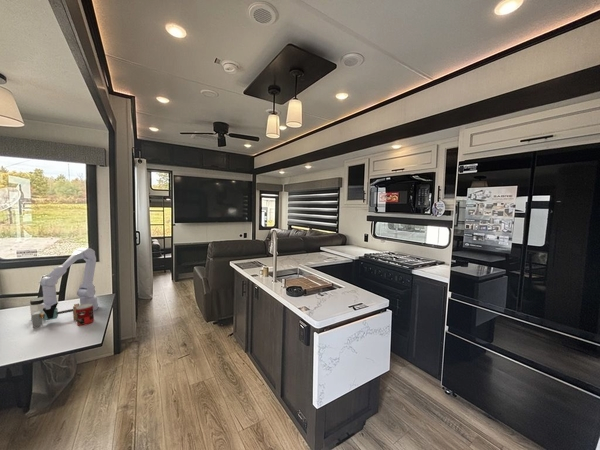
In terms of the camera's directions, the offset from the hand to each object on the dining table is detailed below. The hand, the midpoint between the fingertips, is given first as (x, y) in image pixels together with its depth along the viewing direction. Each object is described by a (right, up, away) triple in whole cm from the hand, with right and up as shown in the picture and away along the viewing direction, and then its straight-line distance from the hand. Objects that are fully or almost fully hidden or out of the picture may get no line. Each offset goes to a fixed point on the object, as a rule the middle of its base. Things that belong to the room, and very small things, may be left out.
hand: (51, 316), depth 153 cm
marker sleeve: (0, -1, 0) cm, 1 cm away
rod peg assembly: (+2, -4, +2) cm, 5 cm away
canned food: (+21, -4, 0) cm, 22 cm away
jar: (-17, -3, +9) cm, 19 cm away
